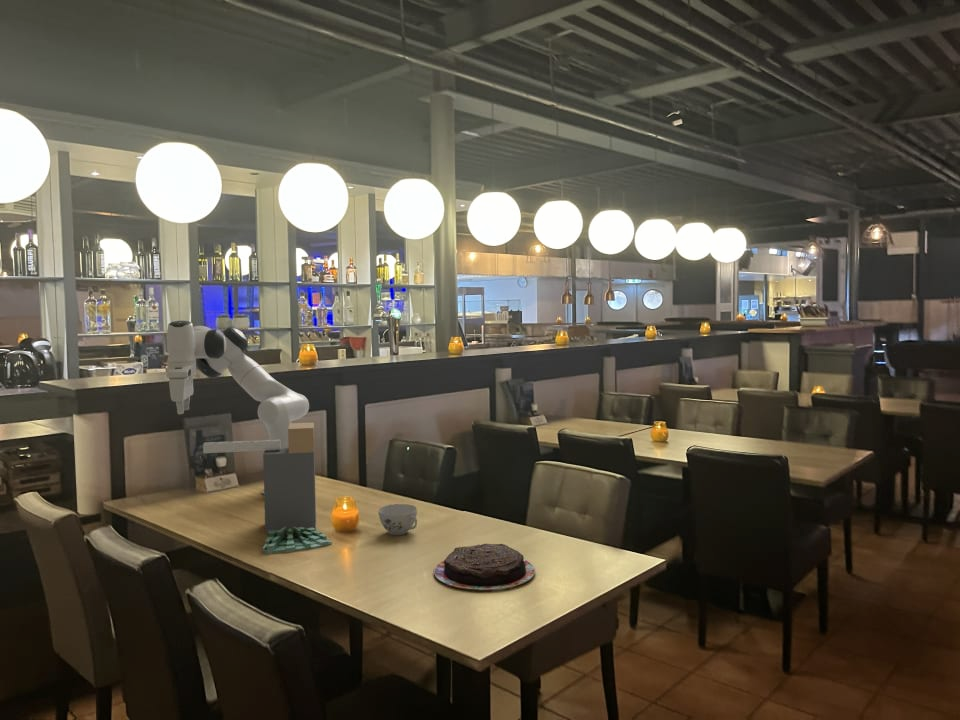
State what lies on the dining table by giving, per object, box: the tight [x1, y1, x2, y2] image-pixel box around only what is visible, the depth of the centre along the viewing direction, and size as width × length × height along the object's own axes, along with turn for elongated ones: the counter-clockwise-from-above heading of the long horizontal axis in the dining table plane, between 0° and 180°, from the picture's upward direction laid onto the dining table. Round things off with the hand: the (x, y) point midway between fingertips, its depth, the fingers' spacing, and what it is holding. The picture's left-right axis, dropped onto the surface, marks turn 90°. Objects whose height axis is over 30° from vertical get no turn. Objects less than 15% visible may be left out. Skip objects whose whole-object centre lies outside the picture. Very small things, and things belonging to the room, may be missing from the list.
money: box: [262, 527, 333, 555], centre depth 228 cm, size 20×16×5 cm
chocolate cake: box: [433, 543, 536, 593], centre depth 203 cm, size 28×28×7 cm
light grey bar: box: [202, 439, 281, 454], centre depth 243 cm, size 3×24×3 cm, turn 102°
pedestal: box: [262, 422, 317, 534], centre depth 247 cm, size 12×16×34 cm
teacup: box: [377, 503, 418, 536], centre depth 239 cm, size 15×12×8 cm
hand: (183, 412), depth 244 cm, fingers open, 8 cm apart
